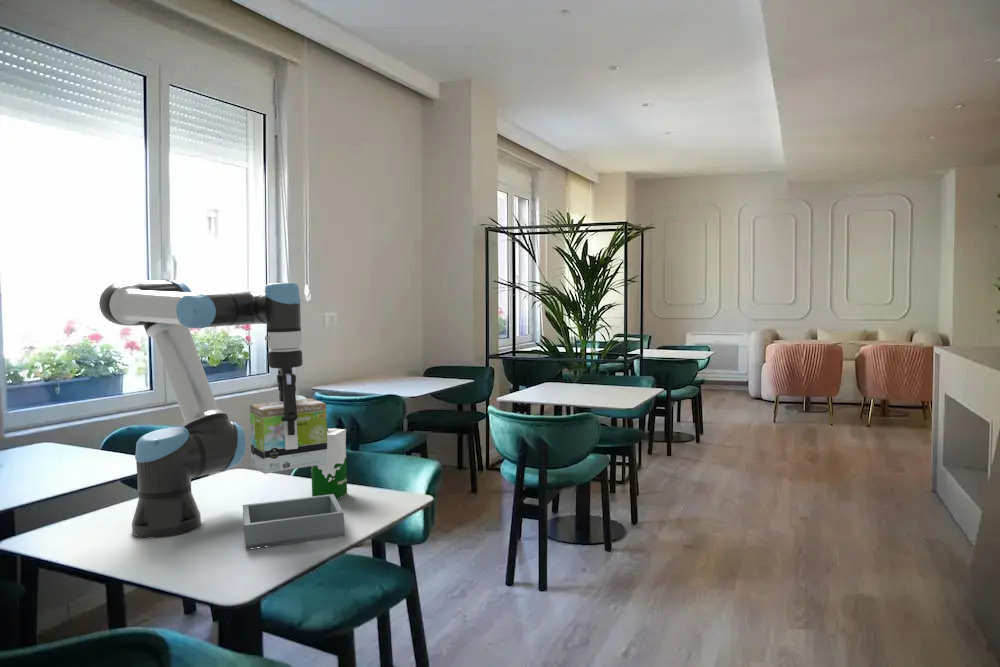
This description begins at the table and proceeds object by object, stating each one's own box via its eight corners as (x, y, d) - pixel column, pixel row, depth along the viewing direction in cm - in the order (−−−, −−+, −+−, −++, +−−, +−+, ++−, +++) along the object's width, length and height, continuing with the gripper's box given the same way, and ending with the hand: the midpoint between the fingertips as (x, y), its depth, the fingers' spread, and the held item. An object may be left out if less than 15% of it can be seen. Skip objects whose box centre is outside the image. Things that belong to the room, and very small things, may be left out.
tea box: (265, 475, 163) (261, 409, 162) (251, 467, 172) (247, 403, 171) (329, 464, 172) (326, 401, 171) (313, 456, 180) (310, 396, 179)
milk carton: (321, 491, 207) (318, 420, 205) (352, 492, 205) (349, 421, 204) (307, 500, 198) (304, 426, 197) (338, 501, 196) (336, 427, 195)
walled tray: (243, 527, 177) (242, 504, 177) (334, 515, 184) (333, 493, 184) (245, 550, 162) (244, 525, 161) (344, 536, 169) (343, 512, 169)
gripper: (265, 347, 180) (269, 436, 181) (271, 355, 158) (276, 456, 159) (297, 345, 182) (301, 433, 184) (307, 353, 160) (311, 452, 162)
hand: (289, 443), depth 172 cm, fingers closed on tea box, 11 cm apart
